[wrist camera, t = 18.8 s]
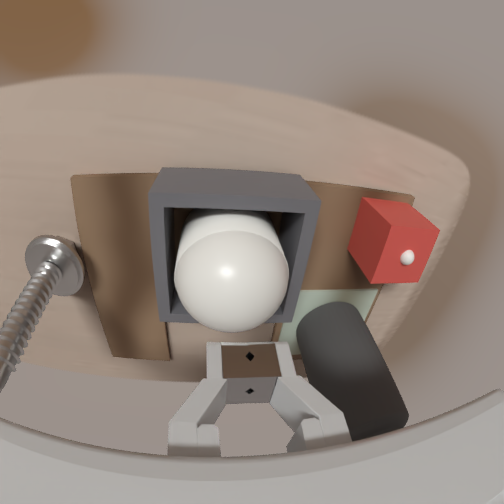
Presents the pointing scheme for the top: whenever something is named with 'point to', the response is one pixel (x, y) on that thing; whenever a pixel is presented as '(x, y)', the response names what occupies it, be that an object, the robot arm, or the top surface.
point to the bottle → (350, 370)
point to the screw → (38, 294)
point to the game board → (140, 253)
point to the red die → (391, 241)
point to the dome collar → (230, 197)
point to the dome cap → (230, 268)
